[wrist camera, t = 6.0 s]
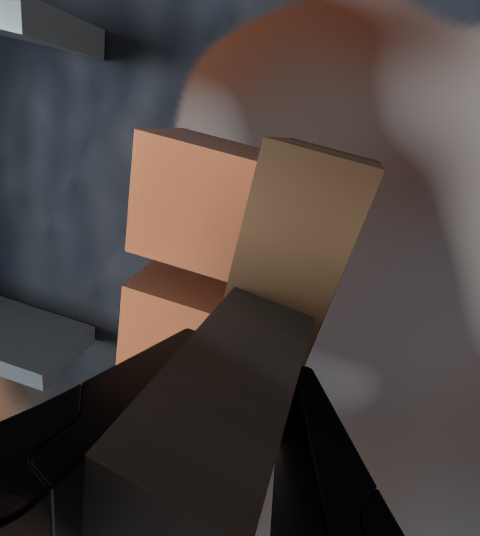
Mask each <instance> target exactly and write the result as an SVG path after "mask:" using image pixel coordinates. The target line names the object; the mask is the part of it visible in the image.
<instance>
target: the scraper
mask: <svg viewBox="0 0 480 536" xmlns="http://www.w3.org/2000/svg"><path fill="white" fill-rule="evenodd" d="M385 171H386V170H385V168H384V167H383V166H382V165H381V164H380V162H379V161H376V160H372V159H368V158H365V157H361V156H357V155H354V154H350V153H346V152H342V151H338V150H335V149H331V148H327V147H324V146H320V145H316V144H313V143H309V142H305V141H301V140H298V139H294V138H279V137H263V139H262V143H261V147H260V151H259V155H258V160H257V164H256V168H255V172H254V176H253V180H252V184H251V188H250V192H249V196H248V200H247V204H246V208H245V213H244V217H243V221H242V225H241V229H240V233H239V237H238V241H237V245H236V249H235V253H234V257H233V261H232V265H231V270H230V274H229V278H228V282H227V286H226V290H225V294H224V298H223V300H222V301H221V302H220V304H219V305H218V306H217V307H216V308H215V309H214V310H213V311H212V313H211V314H210V315H209V316H208V317H207V318H206V319H205V320H204V322H203V323H202V324H201V325H200V326H199V327H198V328H197V329H196V330H195V332H194V333H193V334H192V335H191V336H190V337H189V338H188V339H187V341H186V342H185V343H184V344H183V345H182V346H181V347H180V348H179V350H178V351H177V352H176V353H175V354H174V355H173V356H172V357H171V359H170V360H169V361H168V362H167V363H166V364H165V365H164V366H163V368H162V369H161V370H160V371H159V372H158V373H157V374H156V375H155V376H154V378H153V379H152V380H151V381H150V382H149V383H148V384H147V385H146V387H145V388H144V389H143V390H142V391H141V392H140V393H139V394H138V396H137V397H136V398H135V399H134V400H133V401H132V402H131V403H130V405H129V406H128V407H127V408H126V409H125V410H124V411H123V412H122V414H121V415H120V416H119V417H118V418H117V419H116V420H115V421H114V422H113V424H112V425H111V426H110V427H109V428H108V429H107V430H106V431H105V433H104V434H103V435H102V436H101V437H100V438H99V439H98V440H97V442H96V443H95V444H94V445H93V446H92V447H91V448H90V449H89V451H88V452H87V453H86V454H85V473H84V497H83V521H82V536H255V533H256V529H257V525H258V522H259V518H260V514H261V511H262V507H263V503H264V500H265V496H266V493H267V489H268V485H269V482H270V478H271V474H272V471H273V467H274V464H275V460H276V456H277V453H278V449H279V446H280V442H281V438H282V435H283V431H284V427H285V424H286V420H287V416H288V413H289V409H290V406H291V402H292V398H293V395H294V391H295V387H296V384H297V380H298V377H299V373H300V369H301V366H302V365H303V366H305V364H306V361H307V359H308V357H309V354H310V352H311V349H312V347H313V344H314V342H315V340H316V337H317V335H318V332H319V330H320V328H321V325H322V323H323V320H324V318H325V315H326V313H327V311H328V308H329V306H330V303H331V301H332V299H333V296H334V294H335V291H336V289H337V286H338V284H339V281H340V279H341V277H342V275H343V272H344V270H345V267H346V265H347V262H348V260H349V258H350V255H351V253H352V250H353V248H354V246H355V243H356V241H357V238H358V236H359V233H360V231H361V229H362V226H363V224H364V221H365V219H366V217H367V214H368V212H369V209H370V207H371V205H372V202H373V200H374V197H375V195H376V192H377V190H378V188H379V185H380V183H381V180H382V178H383V175H384V173H385Z"/></svg>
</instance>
